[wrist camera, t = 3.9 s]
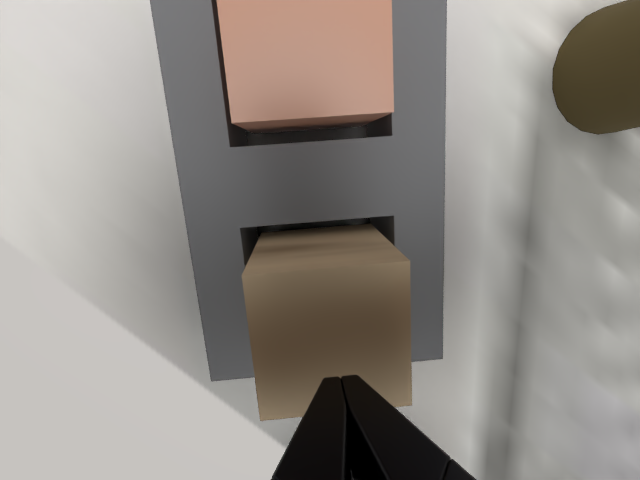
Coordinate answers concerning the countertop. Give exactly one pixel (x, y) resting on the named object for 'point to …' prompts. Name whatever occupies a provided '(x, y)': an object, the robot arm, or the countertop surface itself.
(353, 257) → the oak key
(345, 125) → the terracotta key
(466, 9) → the countertop surface
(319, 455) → the robot arm
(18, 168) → the countertop surface
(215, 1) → the grey socket block
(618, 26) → the olive brown cylinder
